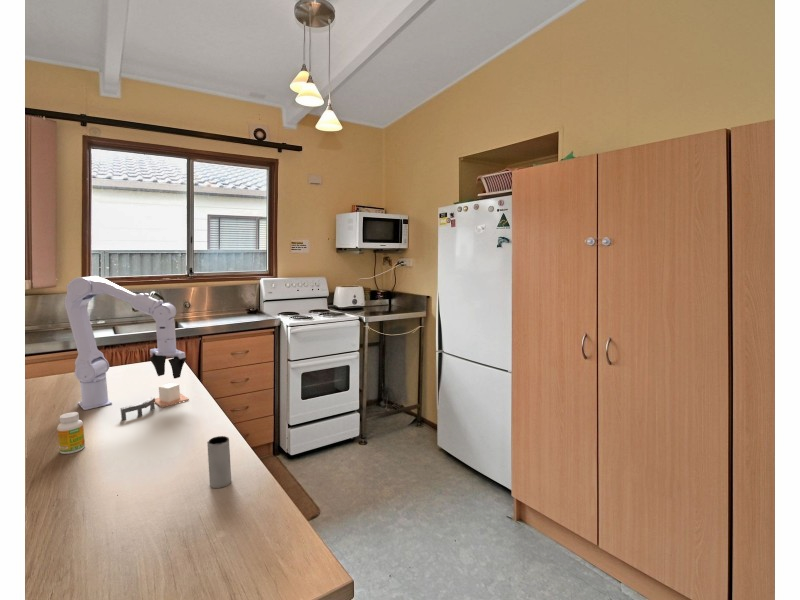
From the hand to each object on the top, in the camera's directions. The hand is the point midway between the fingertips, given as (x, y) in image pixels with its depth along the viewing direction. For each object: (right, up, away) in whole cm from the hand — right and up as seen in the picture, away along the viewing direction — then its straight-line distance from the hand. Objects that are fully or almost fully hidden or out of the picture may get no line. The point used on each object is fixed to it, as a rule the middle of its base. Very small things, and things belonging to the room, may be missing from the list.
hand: (169, 376), depth 148 cm
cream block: (0, -8, +1) cm, 8 cm away
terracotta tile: (0, -9, +1) cm, 9 cm away
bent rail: (-4, -10, -11) cm, 15 cm away
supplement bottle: (-7, -13, -35) cm, 38 cm away
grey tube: (+40, -15, -51) cm, 66 cm away
